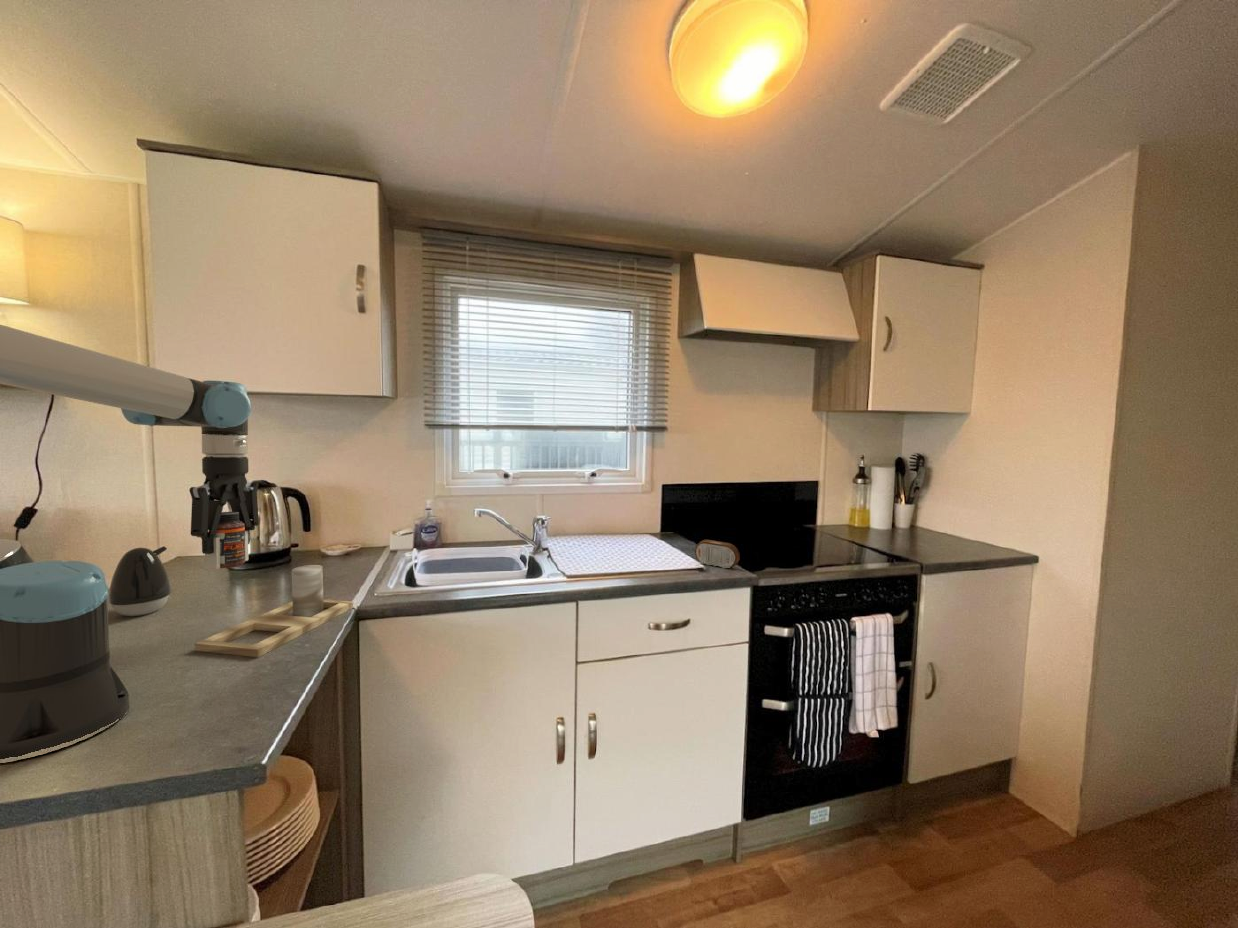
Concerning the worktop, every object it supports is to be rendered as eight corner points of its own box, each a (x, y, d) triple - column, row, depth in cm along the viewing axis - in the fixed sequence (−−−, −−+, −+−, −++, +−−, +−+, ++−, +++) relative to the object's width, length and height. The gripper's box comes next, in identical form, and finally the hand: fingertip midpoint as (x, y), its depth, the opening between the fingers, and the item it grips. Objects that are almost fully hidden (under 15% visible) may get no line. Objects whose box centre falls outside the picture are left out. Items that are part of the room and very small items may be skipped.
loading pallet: (258, 657, 91) (256, 600, 90) (195, 650, 93) (192, 595, 92) (353, 607, 117) (352, 563, 116) (302, 603, 119) (301, 559, 118)
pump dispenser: (183, 606, 115) (180, 544, 114) (129, 623, 105) (125, 555, 104) (153, 601, 118) (150, 540, 117) (98, 617, 108) (94, 551, 107)
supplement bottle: (225, 570, 98) (224, 515, 98) (201, 568, 99) (200, 514, 99) (252, 562, 104) (251, 511, 104) (229, 560, 105) (228, 510, 105)
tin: (739, 569, 157) (740, 543, 157) (736, 571, 154) (737, 545, 154) (696, 561, 165) (697, 537, 165) (693, 563, 162) (694, 539, 162)
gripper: (197, 457, 91) (199, 577, 92) (278, 454, 109) (279, 554, 111) (162, 456, 91) (164, 575, 93) (248, 453, 110) (250, 552, 112)
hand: (227, 563), depth 102 cm, fingers closed on supplement bottle, 6 cm apart
